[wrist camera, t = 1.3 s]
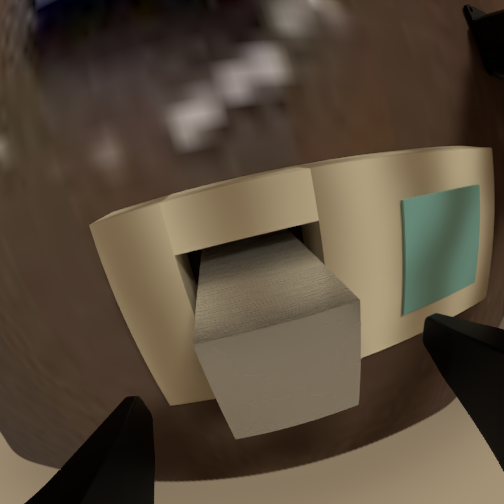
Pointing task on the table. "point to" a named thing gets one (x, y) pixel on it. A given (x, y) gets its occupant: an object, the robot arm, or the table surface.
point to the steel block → (275, 334)
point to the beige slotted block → (311, 246)
